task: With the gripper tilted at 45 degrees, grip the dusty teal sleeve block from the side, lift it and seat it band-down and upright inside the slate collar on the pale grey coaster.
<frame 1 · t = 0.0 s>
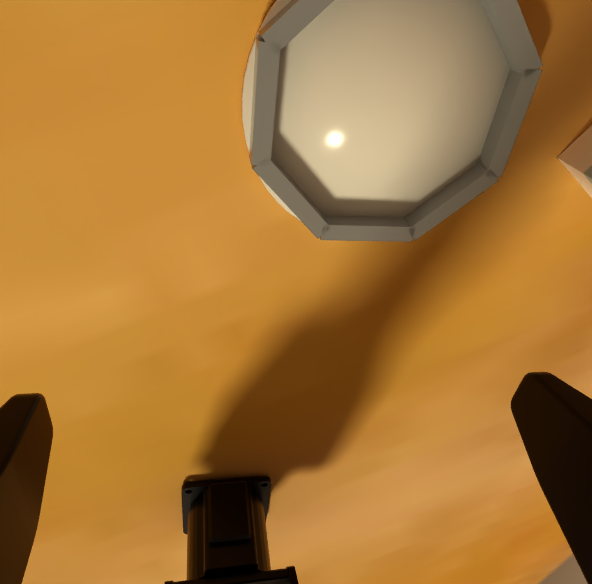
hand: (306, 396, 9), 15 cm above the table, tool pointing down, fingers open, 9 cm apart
coaster: (384, 107, 21), on the table
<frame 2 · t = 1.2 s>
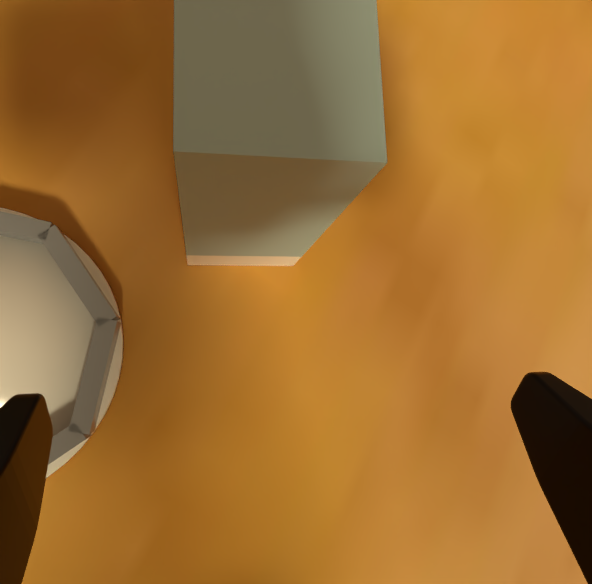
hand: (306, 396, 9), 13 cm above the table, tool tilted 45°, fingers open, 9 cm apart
sleeve block: (240, 214, 23), on the table
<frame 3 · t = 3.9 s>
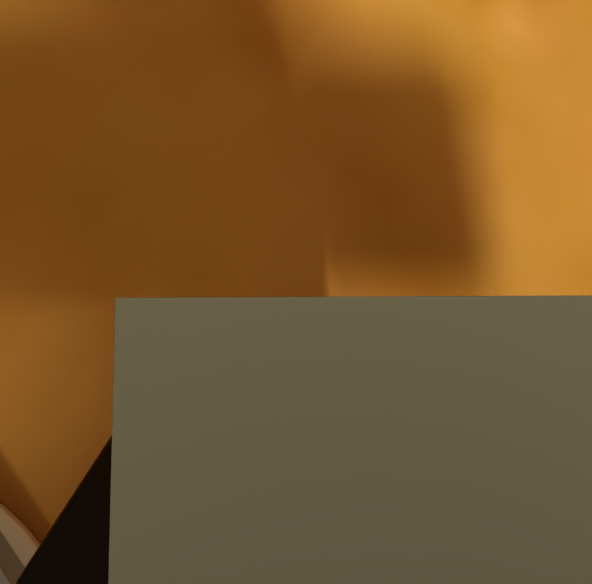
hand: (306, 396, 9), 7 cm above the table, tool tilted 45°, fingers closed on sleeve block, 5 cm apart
sleeve block: (262, 429, 15), on the table, touching gripper
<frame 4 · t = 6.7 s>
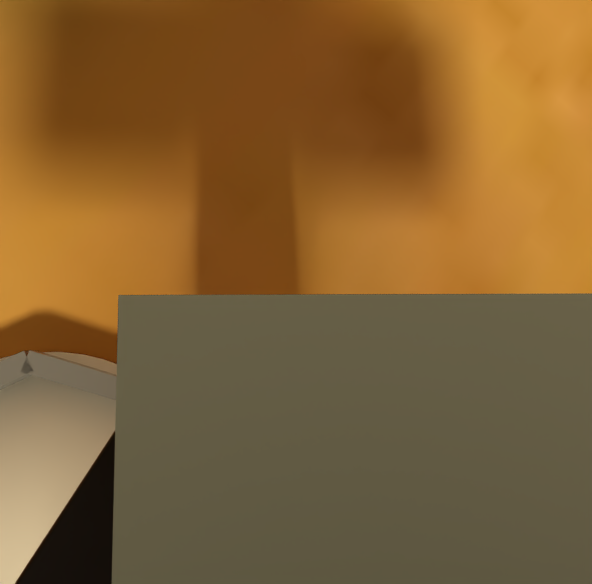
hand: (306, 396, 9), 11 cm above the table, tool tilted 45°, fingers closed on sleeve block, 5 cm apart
sleeve block: (263, 428, 15), point 5 cm above the table, touching gripper
coaster: (42, 519, 18), on the table
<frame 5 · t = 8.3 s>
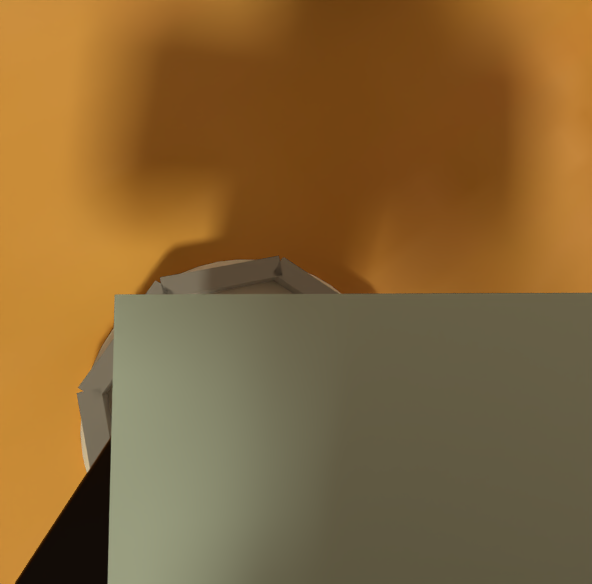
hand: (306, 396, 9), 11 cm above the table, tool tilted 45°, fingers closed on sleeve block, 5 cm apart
sleeve block: (262, 428, 15), point 4 cm above the table, touching gripper
coaster: (248, 412, 19), on the table
when the fingers open (8 cm above the table, at t = 9.5 s): sleeve block stays where it is, resting on coaster.
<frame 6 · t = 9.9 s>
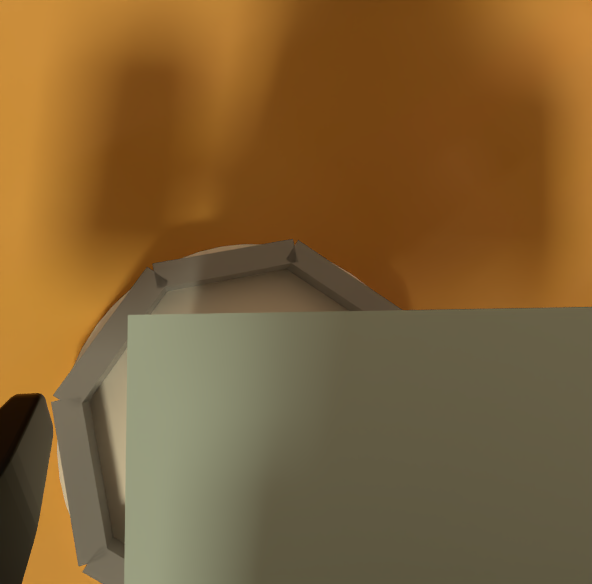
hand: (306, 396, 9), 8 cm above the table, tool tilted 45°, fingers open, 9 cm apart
sleeve block: (259, 426, 16), point 1 cm above the table, touching coaster
coaster: (257, 424, 16), on the table
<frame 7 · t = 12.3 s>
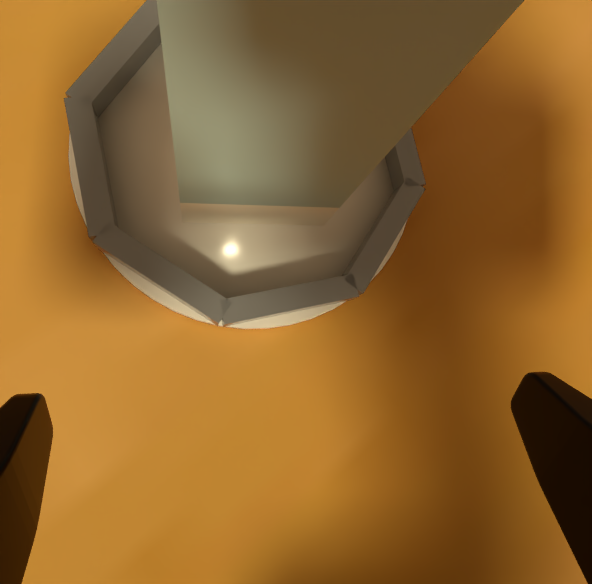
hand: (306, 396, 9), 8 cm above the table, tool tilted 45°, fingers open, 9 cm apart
sleeve block: (253, 156, 17), resting on coaster
coaster: (252, 162, 18), on the table
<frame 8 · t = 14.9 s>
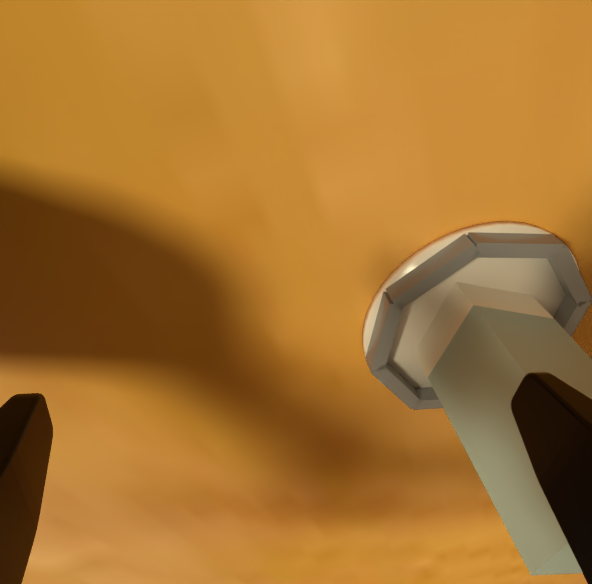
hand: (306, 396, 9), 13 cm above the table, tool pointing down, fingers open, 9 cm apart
sleeve block: (471, 324, 26), resting on coaster
coaster: (468, 318, 27), on the table
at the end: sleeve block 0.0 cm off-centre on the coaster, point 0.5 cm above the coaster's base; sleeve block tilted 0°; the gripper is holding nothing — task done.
